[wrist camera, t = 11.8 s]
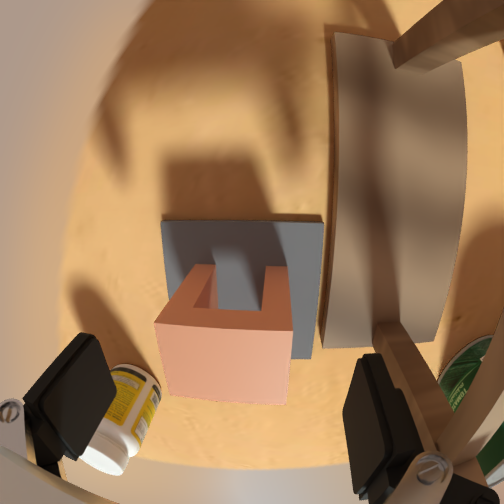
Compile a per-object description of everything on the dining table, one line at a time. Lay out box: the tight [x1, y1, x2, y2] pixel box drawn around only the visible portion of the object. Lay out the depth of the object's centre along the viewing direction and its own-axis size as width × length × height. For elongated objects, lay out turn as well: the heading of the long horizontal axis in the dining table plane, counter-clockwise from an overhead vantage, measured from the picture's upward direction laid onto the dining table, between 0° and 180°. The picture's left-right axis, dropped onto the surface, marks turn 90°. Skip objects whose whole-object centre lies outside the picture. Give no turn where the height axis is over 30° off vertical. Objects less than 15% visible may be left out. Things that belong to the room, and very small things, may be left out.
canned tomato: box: [438, 335, 504, 488], centre depth 13 cm, size 8×8×11 cm
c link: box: [154, 264, 293, 405], centre depth 14 cm, size 4×5×6 cm
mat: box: [161, 220, 324, 359], centre depth 17 cm, size 9×9×1 cm
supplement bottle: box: [79, 364, 162, 475], centre depth 17 cm, size 5×5×8 cm
